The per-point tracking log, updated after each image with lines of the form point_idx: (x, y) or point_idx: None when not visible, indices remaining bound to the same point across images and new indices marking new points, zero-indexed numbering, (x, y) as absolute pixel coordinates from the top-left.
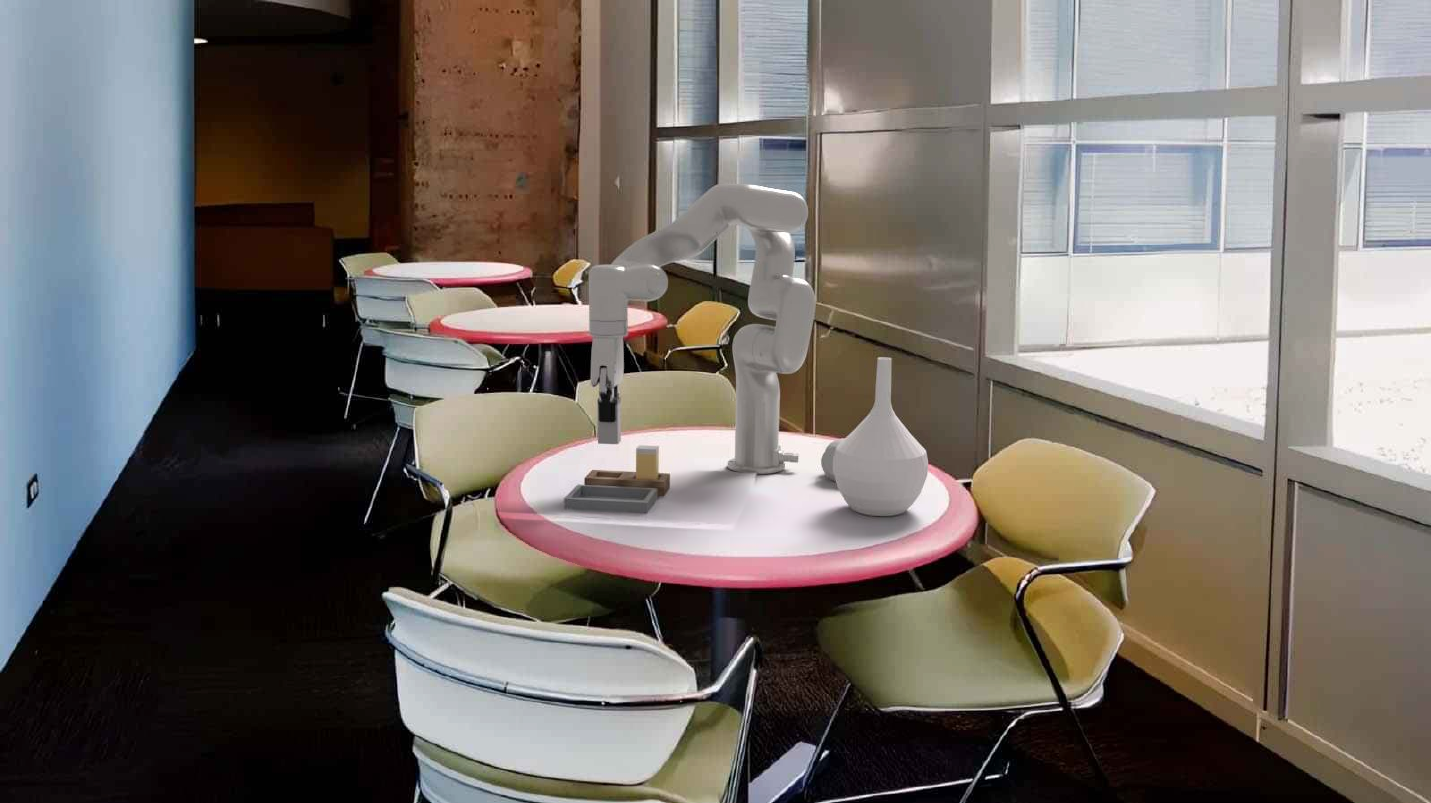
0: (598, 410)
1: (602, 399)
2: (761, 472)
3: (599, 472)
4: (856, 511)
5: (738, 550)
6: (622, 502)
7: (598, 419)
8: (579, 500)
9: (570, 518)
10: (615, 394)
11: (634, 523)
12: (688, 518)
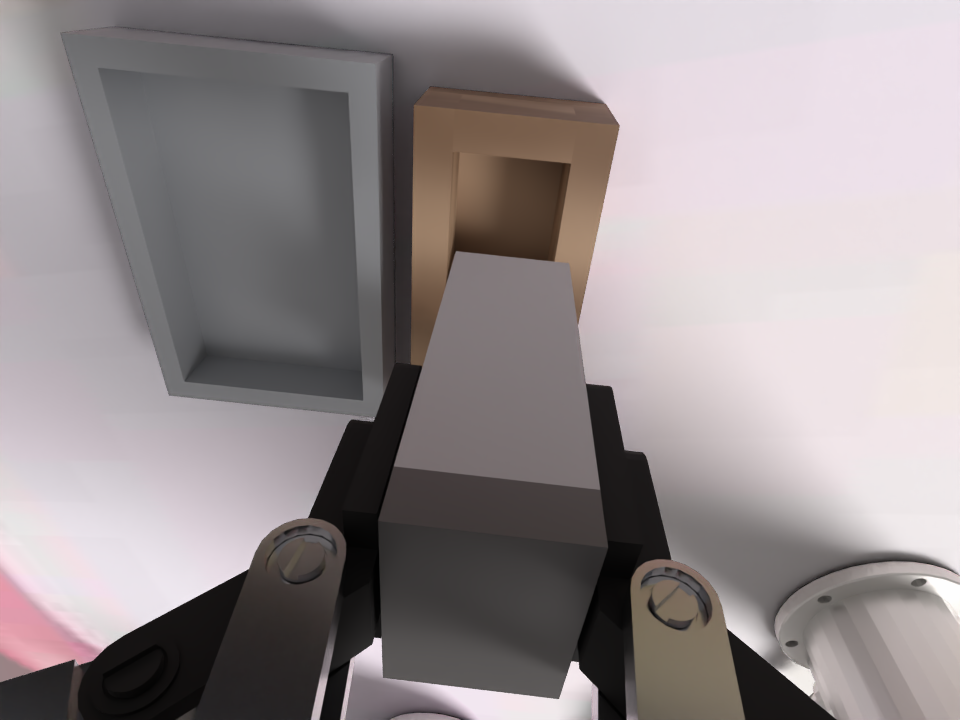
0: (407, 419)
1: (224, 595)
2: (775, 625)
3: (569, 174)
4: (402, 715)
5: (27, 547)
6: (147, 312)
7: (427, 357)
8: (90, 122)
9: (61, 73)
10: (598, 693)
11: (122, 328)
12: (246, 463)
